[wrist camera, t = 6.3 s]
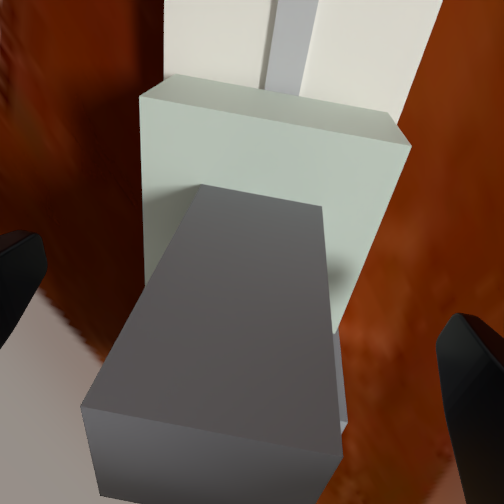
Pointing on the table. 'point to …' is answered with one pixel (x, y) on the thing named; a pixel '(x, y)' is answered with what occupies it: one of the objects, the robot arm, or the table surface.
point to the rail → (304, 55)
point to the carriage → (239, 295)
